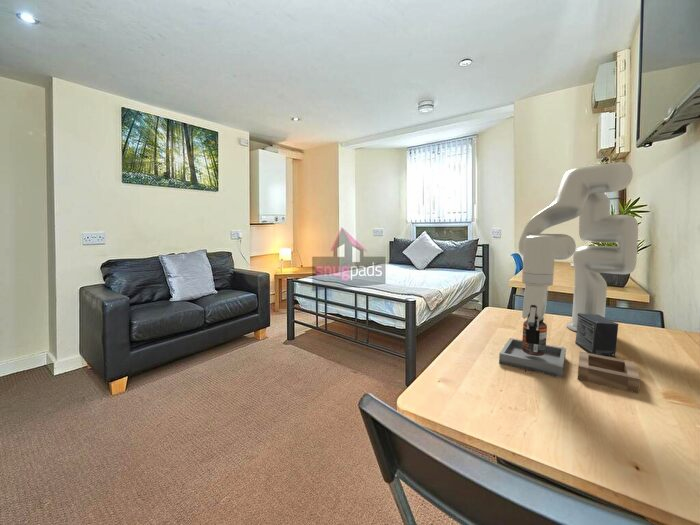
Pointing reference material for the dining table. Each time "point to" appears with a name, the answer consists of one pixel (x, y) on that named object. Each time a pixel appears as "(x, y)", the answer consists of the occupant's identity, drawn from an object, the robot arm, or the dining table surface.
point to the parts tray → (534, 358)
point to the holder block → (608, 371)
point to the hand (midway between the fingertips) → (534, 339)
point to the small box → (597, 334)
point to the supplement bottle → (541, 347)
